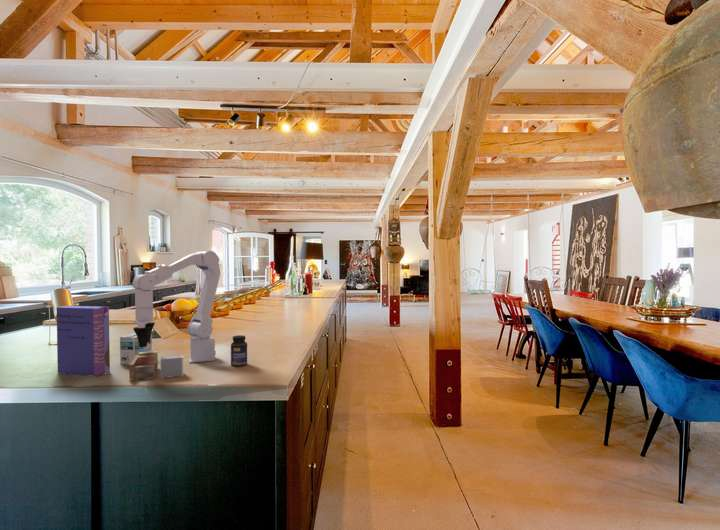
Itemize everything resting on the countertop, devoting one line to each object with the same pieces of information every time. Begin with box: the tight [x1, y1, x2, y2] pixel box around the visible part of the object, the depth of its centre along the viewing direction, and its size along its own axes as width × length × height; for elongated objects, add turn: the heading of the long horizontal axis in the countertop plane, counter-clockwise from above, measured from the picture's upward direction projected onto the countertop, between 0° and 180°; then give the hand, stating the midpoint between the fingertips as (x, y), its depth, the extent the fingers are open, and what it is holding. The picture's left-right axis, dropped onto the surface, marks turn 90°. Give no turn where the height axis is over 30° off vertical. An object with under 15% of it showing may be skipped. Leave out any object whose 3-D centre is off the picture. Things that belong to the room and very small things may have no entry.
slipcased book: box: [160, 354, 185, 378], centre depth 143 cm, size 7×4×6 cm, turn 111°
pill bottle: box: [230, 335, 248, 367], centre depth 156 cm, size 6×6×11 cm
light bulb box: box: [119, 332, 153, 365], centre depth 163 cm, size 11×7×11 cm, turn 172°
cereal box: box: [56, 305, 111, 377], centre depth 146 cm, size 17×5×24 cm, turn 78°
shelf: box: [128, 350, 159, 382], centre depth 145 cm, size 7×15×6 cm, turn 21°
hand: (144, 344), depth 149 cm, fingers open, 7 cm apart
